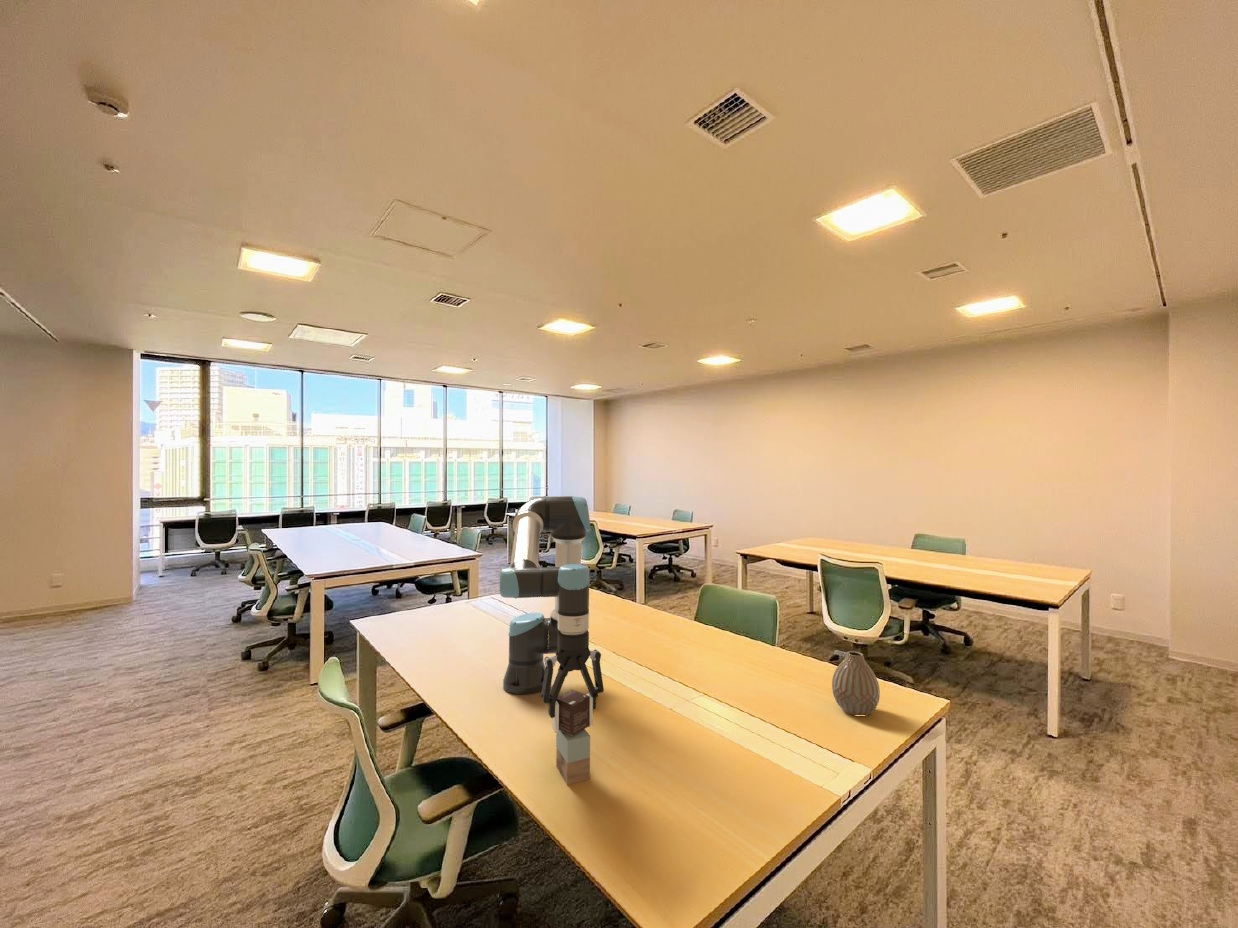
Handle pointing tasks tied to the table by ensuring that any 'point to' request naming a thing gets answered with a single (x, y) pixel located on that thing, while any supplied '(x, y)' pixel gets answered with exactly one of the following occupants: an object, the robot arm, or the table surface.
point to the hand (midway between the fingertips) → (572, 726)
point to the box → (573, 712)
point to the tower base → (573, 769)
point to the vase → (855, 685)
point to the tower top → (573, 745)
